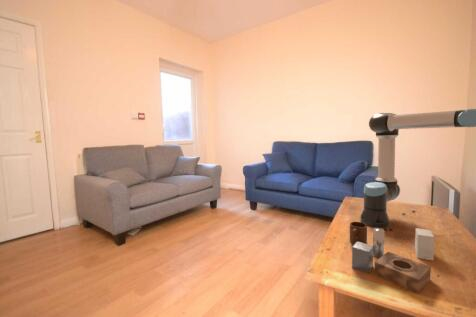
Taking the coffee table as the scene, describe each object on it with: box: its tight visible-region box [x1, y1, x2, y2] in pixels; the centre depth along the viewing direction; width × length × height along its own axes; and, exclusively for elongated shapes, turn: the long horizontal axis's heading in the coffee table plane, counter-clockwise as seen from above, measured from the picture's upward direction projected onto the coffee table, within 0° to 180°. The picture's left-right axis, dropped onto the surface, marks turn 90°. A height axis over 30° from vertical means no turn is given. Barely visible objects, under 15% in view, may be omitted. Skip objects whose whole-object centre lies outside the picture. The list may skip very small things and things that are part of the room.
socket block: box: [373, 251, 432, 294], centre depth 86 cm, size 14×12×5 cm
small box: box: [414, 227, 435, 261], centre depth 100 cm, size 8×6×10 cm
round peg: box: [372, 227, 385, 259], centre depth 101 cm, size 4×4×12 cm
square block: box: [351, 242, 374, 275], centre depth 93 cm, size 6×6×9 cm
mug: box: [349, 221, 368, 246], centre depth 111 cm, size 12×8×9 cm, turn 139°
